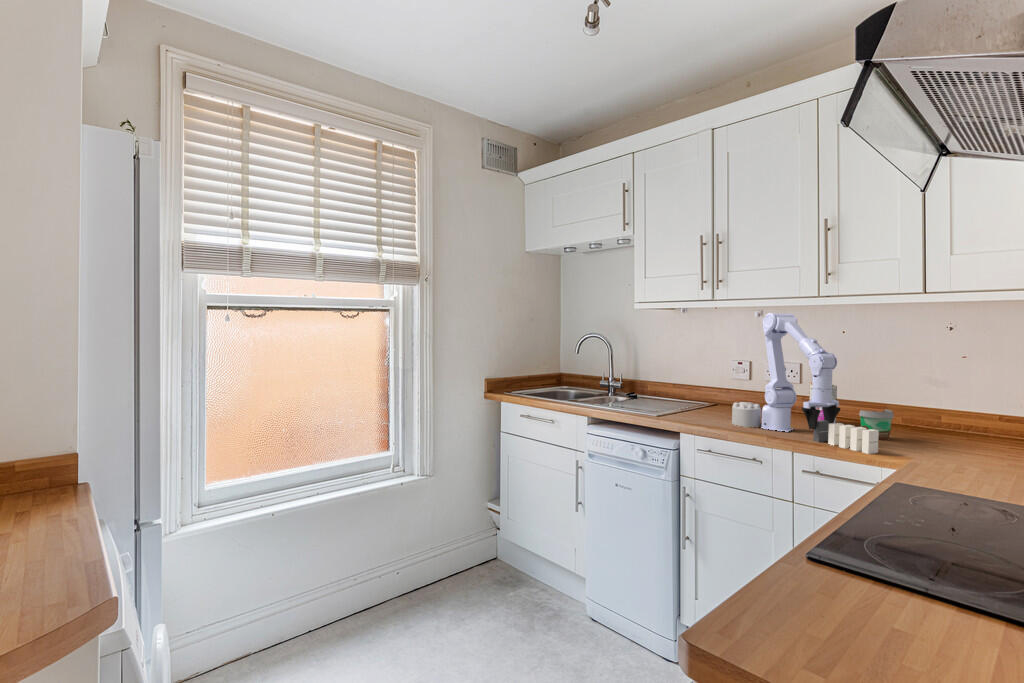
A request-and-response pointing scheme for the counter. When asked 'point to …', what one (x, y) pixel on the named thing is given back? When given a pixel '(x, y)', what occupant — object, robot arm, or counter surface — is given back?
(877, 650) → the counter surface
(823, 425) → the black domino
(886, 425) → the food container
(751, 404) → the lumpy-topped squat cylinder
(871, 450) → the domino
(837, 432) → the domino
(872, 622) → the counter surface
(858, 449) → the domino
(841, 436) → the domino
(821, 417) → the candy bar box
